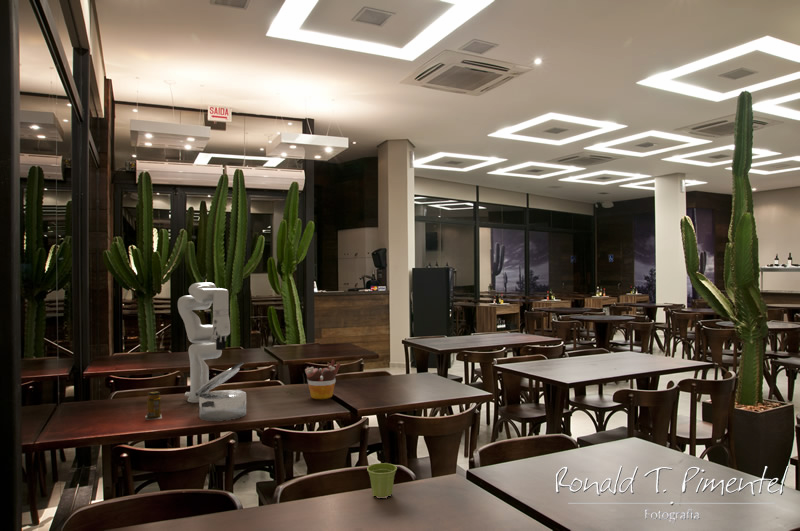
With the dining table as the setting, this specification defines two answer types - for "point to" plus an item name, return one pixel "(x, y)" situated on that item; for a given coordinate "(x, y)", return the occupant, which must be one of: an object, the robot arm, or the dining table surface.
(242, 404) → the cooker pot
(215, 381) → the cooker lid
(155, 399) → the condiment
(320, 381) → the bucket of meat
